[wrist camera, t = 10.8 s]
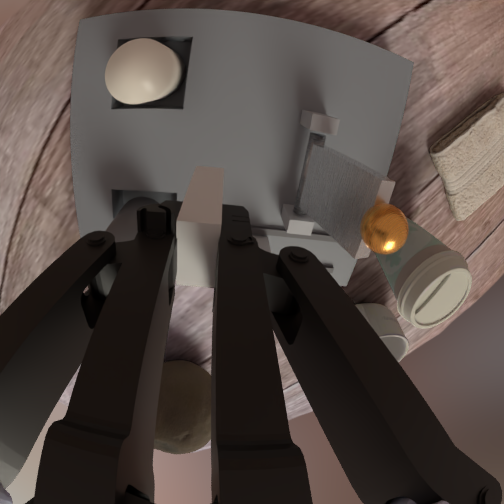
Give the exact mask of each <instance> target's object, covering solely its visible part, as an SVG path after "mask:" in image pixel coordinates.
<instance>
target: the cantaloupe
mask: <svg viewBox="0 0 504 504" xmlns="http://www.w3.org/2000/svg"><path fill="white" fill-rule="evenodd" d="M210 439H211V375H210V374H209V373H208V372H207V371H206V370H204V369H203V368H201V367H200V366H198V365H196V364H194V363H192V362H189V361H184V360H174V361H168V362H164V363H163V368H162V375H161V383H160V391H159V399H158V407H157V417H156V427H155V437H154V449H157V450H161V451H163V452H167V453H171V454H185V453H190V452H193V451H196V450H198V449H200V448H202V447H203V446H205V445H206V444H207V443H208V442H209V441H210Z"/></svg>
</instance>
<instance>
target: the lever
mask: <svg viewBox="0 0 504 504" xmlns="http://www.w3.org/2000/svg"><path fill="white" fill-rule="evenodd" d="M325 140H326V136H325V135H323V134H319V133H315V132H310V136H309V141H308V146H307V150H306V155H305V160H304V164H303V169H302V173H301V178H300V182H299V187H298V191H297V195H296V200H295V204H294V208H293V212H295V213H296V214H299V215H309V216H310V217H311V218H312V219H313V220H314V221H315V222H316V223H317V224H318V225H319V226H320V227H321V228H323V229H324V230H325V231H326V232H327V233H328V234H329V235H330V236H331V237H332V238H333V239H334V240H335V241H336V242H337V243H338V244H339V245H340V246H341V247H343V248H344V249H345V250H346V251H347V252H348V253H349V254H350V255H351V256H352V257H353V258H354V259H359V258H367V257H369V254H370V252H371V250H372V251H373V252H375V253H378V254H391V253H394V252H396V251H398V250H399V249H400V248H401V247H402V246H403V245H404V244H405V242H406V240H407V237H408V231H409V227H408V222H407V219H406V217H405V215H404V214H403V212H402V211H401V210H400V209H399V208H397V207H396V206H394V205H391V204H389V201H390V198H391V195H392V192H393V189H394V186H395V183H396V182H395V181H393V180H391V179H389V178H388V177H386V176H384V175H382V174H381V173H379V172H377V171H375V170H373V169H371V168H370V167H368V166H366V165H364V164H362V163H360V162H358V161H356V160H354V159H353V158H351V157H349V156H347V155H345V154H343V153H341V152H339V151H336V150H334V149H332V148H330V147H328V146H325Z"/></svg>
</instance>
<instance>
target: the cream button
mask: <svg viewBox="0 0 504 504" xmlns="http://www.w3.org/2000/svg"><path fill="white" fill-rule="evenodd" d="M184 77H185V64H184V62H183V59H182V58H181V56H180V55H179V54H178V53H177V52H175V51H174V50H172V49H170V48H168V47H166V46H165V45H163V44H161V43H159V42H157V41H155V40H152V39H147V38H140V39H134V40H131V41H129V42H127V43H125V44H123V45H122V46H120V47H119V48H118V49H117V50H116V51H115V52H114V53H113V54H112V56H111V57H110V59H109V61H108V63H107V66H106V70H105V83H106V86H107V89H108V90H109V92H110V94H111V95H112V96H113V97H114V98H115V99H117V100H118V101H120V102H123V103H126V104H141V103H145V102H149V101H154V100H158V99H162V98H165V97H168V96H170V95H171V94H173V93H174V92H175V91H176V90H177V89H178V88H179V87H180V85H181V84H182V82H183V80H184Z"/></svg>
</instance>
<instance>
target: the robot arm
mask: <svg viewBox="0 0 504 504" xmlns="http://www.w3.org/2000/svg"><path fill="white" fill-rule="evenodd" d="M223 177H224V168H216V167H205V166H196V168H195V171H194V173H193V176H192V179H191V181H190V184H189V187H188V189H187V192H186V195H185V198H184V200H183V201H170V200H165V201H164V202H162V203H161V204H149V205H145V206H142V207H140V208H139V209H138V210H137V231H138V232H137V234H136V236H135V238H134V239H133V240H130V241H123V242H115V236H114V235H113V234H112V233H110V232H107V231H93V232H91V233H88V234H86V235H85V236H83V237H82V238H80V239H79V240H78V241H77V242H76V243H75V244H73V245H72V246H71V247H70V248H69V249H68V250H67V251H65V252H64V253H63V254H62V255H61V256H60V257H59V258H58V259H57V260H55V261H54V262H53V263H52V264H51V265H50V266H49V267H48V268H47V269H46V270H45V271H44V272H43V273H42V274H40V275H39V276H38V277H37V278H36V279H35V280H34V281H33V282H32V283H31V284H30V285H29V286H28V287H27V288H26V289H25V290H24V291H23V292H22V293H21V294H20V295H19V297H18V298H17V299H16V300H15V301H14V302H13V303H12V304H11V305H10V306H9V307H8V308H7V309H6V310H5V312H4V313H3V314H2V315H1V316H0V504H12V498H11V496H10V494H9V493H8V492H7V491H6V490H5V489H6V487H8V486H9V485H10V484H11V482H12V481H13V480H14V479H15V477H16V476H17V474H18V473H19V472H20V470H21V469H22V467H23V465H24V463H25V461H26V460H27V457H28V456H29V454H30V452H31V450H32V448H33V446H34V444H35V442H36V440H37V438H38V436H39V434H40V432H41V430H42V429H43V427H44V425H45V423H46V421H47V420H48V418H49V416H50V414H51V412H52V411H53V409H54V407H55V405H56V404H57V402H58V400H59V399H60V397H61V395H62V394H63V392H64V390H65V389H66V387H67V385H68V384H69V382H70V380H71V379H72V377H73V375H74V374H75V372H76V371H77V369H78V368H79V366H80V364H81V366H80V369H79V372H78V376H77V379H76V382H75V385H74V388H73V392H72V395H71V399H70V402H69V406H68V410H67V413H66V415H65V417H64V418H63V419H62V420H58V421H55V422H53V423H52V425H51V426H50V427H49V429H48V431H47V434H46V437H45V441H44V445H43V450H42V454H41V459H40V465H39V470H38V476H37V482H36V489H35V496H34V497H33V498H32V499H31V500H30V501H28V502H27V503H25V504H154V474H153V449H154V437H155V427H156V417H157V407H158V399H159V391H160V383H161V375H162V368H163V361H164V354H165V348H166V341H167V335H168V329H169V323H170V318H171V312H172V306H173V301H174V296H175V279H176V285H184V286H196V287H208V288H214V298H213V310H212V312H213V326H212V364H211V465H212V477H211V481H212V482H211V490H212V504H313V503H312V497H311V491H310V485H309V480H308V473H307V468H306V463H305V460H304V456H303V454H302V452H301V449H300V448H299V447H298V446H297V445H295V444H294V443H293V441H292V439H291V436H290V431H289V425H288V419H287V412H286V406H285V400H284V394H283V388H282V382H281V376H280V370H279V364H278V358H277V352H276V346H275V340H274V334H273V331H274V333H275V335H276V337H277V339H278V341H279V343H280V345H281V347H282V349H283V351H284V353H285V355H286V357H287V359H288V361H289V363H290V365H291V367H292V369H293V371H294V373H295V375H296V377H297V379H298V381H299V383H300V385H301V387H302V389H303V391H304V393H305V395H306V397H307V399H308V401H309V403H310V405H311V407H312V409H313V411H314V413H315V415H316V417H317V419H318V421H319V423H320V425H321V427H322V429H323V431H324V433H325V435H326V437H327V439H328V441H329V442H330V445H331V447H332V448H333V450H334V452H335V454H336V456H337V458H338V460H339V462H340V464H341V466H342V468H343V470H344V471H345V474H346V475H347V477H348V479H349V481H350V483H351V485H352V487H353V488H354V490H355V492H356V493H357V495H358V497H359V498H360V500H361V501H362V502H363V503H364V504H501V501H502V490H501V487H500V483H499V482H498V481H497V480H496V478H494V477H493V476H492V475H490V474H489V473H488V472H486V471H485V470H484V469H483V468H481V467H480V466H479V465H478V464H477V463H475V462H474V461H473V460H471V459H470V458H469V457H468V456H466V455H465V454H464V453H463V452H462V451H460V450H459V449H458V448H457V447H455V445H454V444H453V442H452V441H451V439H450V438H449V436H448V434H447V433H446V431H445V430H444V428H443V427H442V425H441V424H440V422H439V421H438V419H437V418H436V416H435V415H434V413H433V412H432V410H431V409H430V407H429V406H428V404H427V403H426V401H425V400H424V398H423V397H422V395H421V394H420V392H419V391H418V390H417V388H416V387H415V385H414V384H413V382H412V381H411V380H410V378H409V377H408V375H407V374H406V373H405V371H404V370H403V369H402V367H401V366H400V365H399V363H398V361H397V360H396V359H395V357H394V356H393V355H392V353H391V352H390V351H389V349H388V348H387V346H386V345H385V344H384V342H383V341H382V340H381V338H380V337H379V336H378V334H377V333H376V332H375V330H374V329H373V328H372V326H371V325H370V324H369V323H368V321H367V320H366V319H365V317H364V316H363V315H362V313H361V312H360V311H359V310H358V308H357V307H356V306H355V304H354V303H353V302H352V301H351V299H350V298H349V297H348V295H347V294H346V293H345V292H344V290H343V289H342V288H341V287H340V285H339V284H338V283H337V282H336V280H335V279H334V278H333V277H332V275H331V274H330V273H329V272H328V270H327V269H326V268H325V267H324V266H323V264H322V263H321V262H320V261H319V259H318V258H317V257H316V256H315V255H314V254H313V253H312V252H311V251H309V250H307V249H305V248H302V247H299V246H288V247H284V248H282V249H281V250H280V253H279V255H277V254H274V253H270V252H267V251H265V250H263V249H261V248H259V247H258V242H257V240H256V238H255V237H253V236H252V230H251V224H250V218H249V211H248V210H247V209H246V208H245V207H244V206H237V205H227V204H222V199H223ZM87 285H88V290H87V292H86V293H83V291H84V289H85V288H86V287H87Z"/></svg>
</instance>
